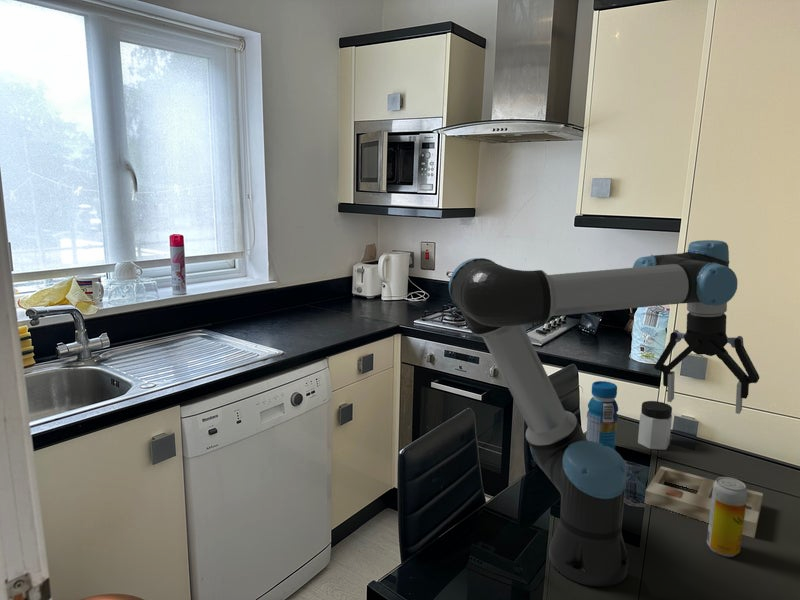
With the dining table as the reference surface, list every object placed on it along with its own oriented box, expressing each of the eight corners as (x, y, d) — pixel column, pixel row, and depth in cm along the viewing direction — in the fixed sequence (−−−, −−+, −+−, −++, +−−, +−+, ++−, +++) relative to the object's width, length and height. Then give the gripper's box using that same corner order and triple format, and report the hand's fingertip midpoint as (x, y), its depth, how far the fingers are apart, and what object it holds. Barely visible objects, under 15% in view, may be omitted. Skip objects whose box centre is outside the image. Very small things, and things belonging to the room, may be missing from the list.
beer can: (744, 560, 114) (753, 492, 111) (711, 556, 115) (719, 488, 113) (733, 542, 120) (741, 477, 117) (702, 538, 121) (709, 474, 118)
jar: (664, 438, 171) (667, 401, 169) (674, 450, 163) (678, 411, 161) (633, 437, 172) (636, 400, 170) (642, 449, 164) (645, 410, 162)
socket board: (644, 504, 135) (645, 489, 134) (659, 478, 147) (660, 464, 146) (754, 538, 122) (756, 522, 121) (761, 506, 134) (763, 492, 133)
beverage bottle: (580, 451, 162) (584, 385, 158) (590, 441, 169) (594, 377, 165) (610, 459, 157) (615, 391, 153) (619, 449, 164) (624, 383, 160)
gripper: (778, 313, 116) (772, 410, 120) (650, 304, 132) (649, 390, 136) (772, 321, 110) (767, 423, 115) (640, 311, 126) (640, 400, 130)
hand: (703, 405), depth 125 cm, fingers open, 13 cm apart
